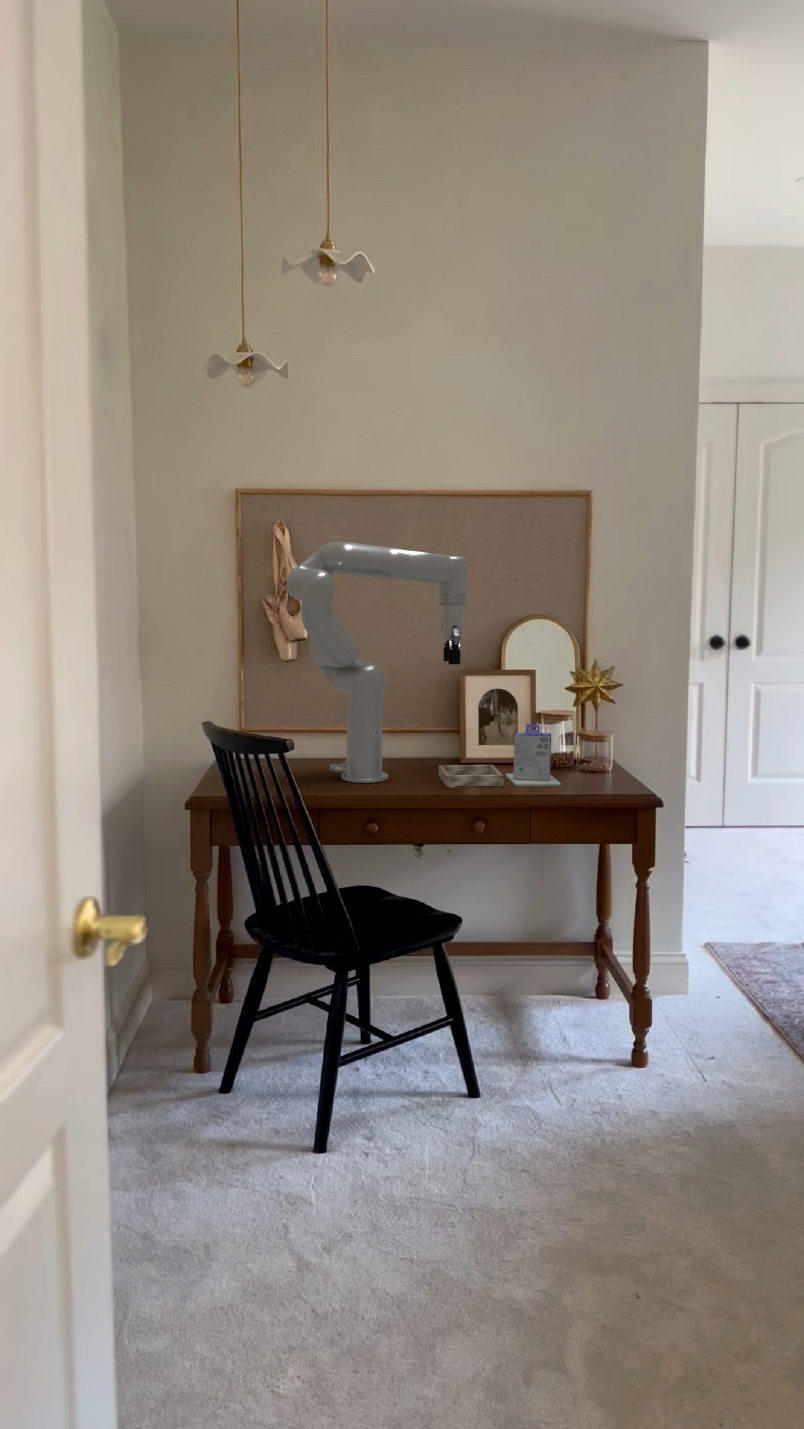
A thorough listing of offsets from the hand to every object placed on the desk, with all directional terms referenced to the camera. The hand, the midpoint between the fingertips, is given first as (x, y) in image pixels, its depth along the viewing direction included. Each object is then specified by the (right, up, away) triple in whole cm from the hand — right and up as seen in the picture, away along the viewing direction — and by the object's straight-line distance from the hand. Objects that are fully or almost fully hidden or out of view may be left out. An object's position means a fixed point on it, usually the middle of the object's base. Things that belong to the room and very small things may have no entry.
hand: (451, 662), depth 305 cm
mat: (+21, -32, -10) cm, 40 cm away
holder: (+4, -32, -12) cm, 35 cm away
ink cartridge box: (+21, -32, -10) cm, 40 cm away
